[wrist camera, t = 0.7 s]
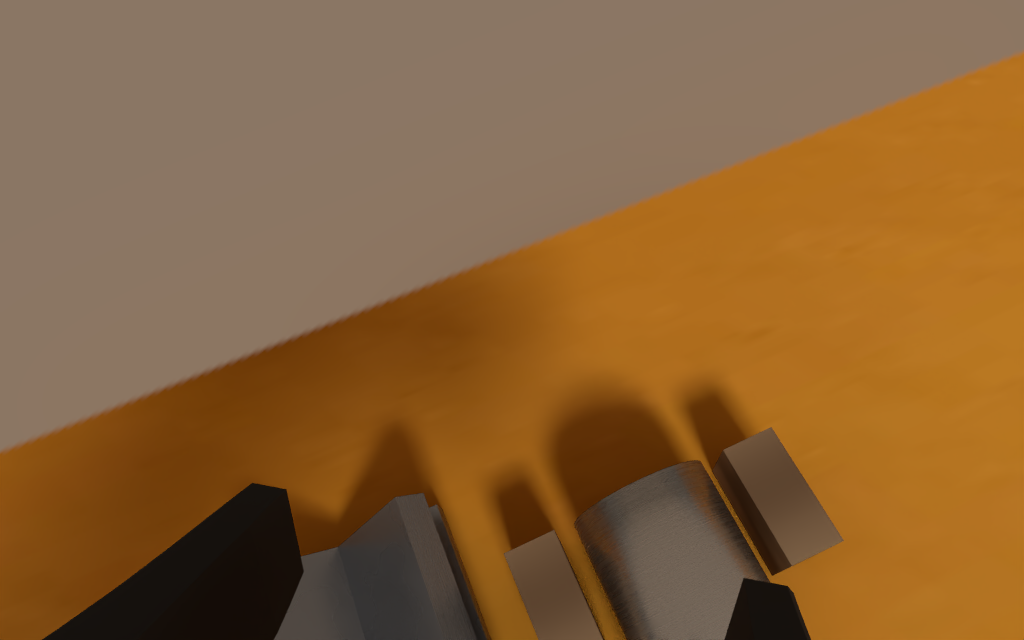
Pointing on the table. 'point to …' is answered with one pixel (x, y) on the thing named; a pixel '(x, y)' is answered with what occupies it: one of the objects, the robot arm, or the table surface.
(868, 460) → the table surface
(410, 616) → the v block
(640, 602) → the axle
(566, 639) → the blocks
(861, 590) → the table surface
